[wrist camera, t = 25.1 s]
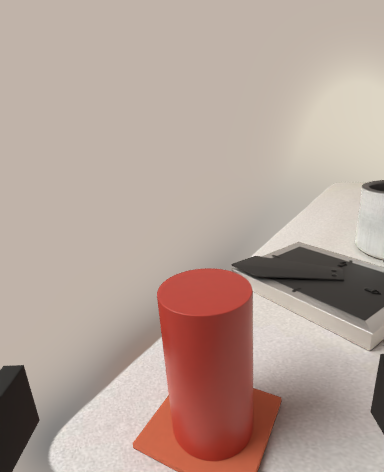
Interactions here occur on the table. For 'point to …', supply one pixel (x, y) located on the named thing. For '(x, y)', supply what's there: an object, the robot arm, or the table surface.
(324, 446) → the table surface
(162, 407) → the terracotta mat
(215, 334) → the red tin
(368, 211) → the planter
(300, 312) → the picture frame
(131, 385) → the table surface
